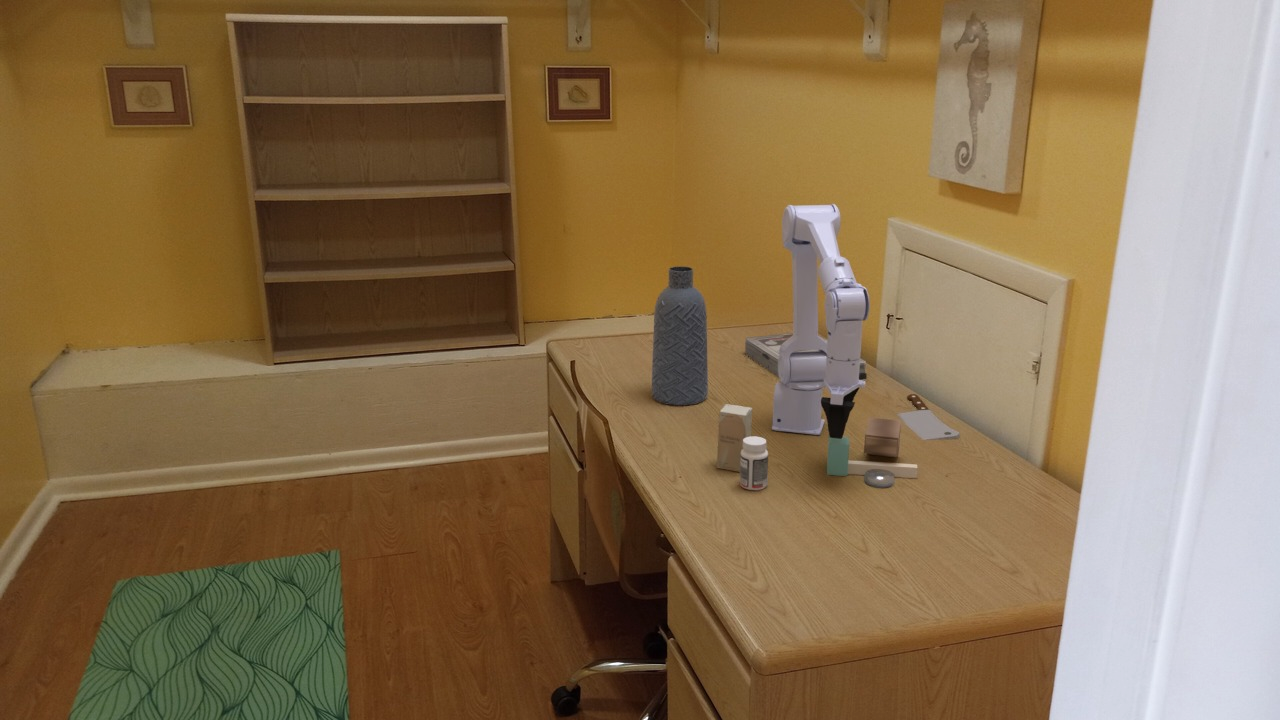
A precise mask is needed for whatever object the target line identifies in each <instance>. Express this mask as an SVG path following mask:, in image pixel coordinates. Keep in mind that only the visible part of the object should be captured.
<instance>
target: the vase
mask: <svg viewBox="0 0 1280 720" xmlns="http://www.w3.org/2000/svg"><path fill="white" fill-rule="evenodd" d="M653 313H654V314H653V337H652V338H653V339H652V340H653V341H652V363H651V367H652V368H651V388H650V389H651V390H650V391H651V396H652V398H653V400H655V401H656V402H659V403H661V404H665V405H672V406H688V405H689V406H690V405H695V404H699V403H702V402H705V400H706V399H707V397H708V394H709V392H708V391H709V382H708V381H709V379H708V378H709V377H708V365H709V364H708V326H707V325H708V324H707V323H708V321H707V319H708V318H707V317H708V315H707V306H706V301H705V298H704V296H703V295H702V293H701V292H700V290H698V288H697V287H695V286H694V268H692V267H690V266H672V267H669V268H668V285H667V286H666V287H665V288H664V289H663V290H661V291H660V293H659V295H658V296H657V298H656V301H655V306H654V312H653Z"/></svg>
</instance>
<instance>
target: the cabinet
mask: <svg viewBox="0 0 1280 720" xmlns="http://www.w3.org/2000/svg"><path fill="white" fill-rule="evenodd" d="M867 422H868V423H867V425H866V431H865V434H864V448H863V454H866V455H869V456H870V455H871V456H878V457H879V456H881V457H886V458H887V457H889V458H896V459H897V458H899V456H900V455H899V454H900V453H899V452H900V444H901V443H900V442H901V429H902V420H899V419H898V420H896V419H887V418H886V419H885V418H877V417H869V418H868V421H867Z"/></svg>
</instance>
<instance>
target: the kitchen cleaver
mask: <svg viewBox="0 0 1280 720" xmlns="http://www.w3.org/2000/svg"><path fill="white" fill-rule="evenodd" d="M906 399H908V400H909V401H908V400H907V401H908V402H910V401H912V402H911V403H912V406H913V405H914V406H915V407H916V410H912V411H906V412H901V413H896V415H897V416H898V418H900V420H901V422H903V423H904V424H905V425H906V427H908V428H909V429H910V430H911V431H913V432H914V433H915V434H916V435H917V436H918V437H919V438H920V439H921V440H923V441H931V440H934V441H935V439H939V440H957V439H959V438H960V436H961V435H960V434H961V433H960V432H959V431H957V430H955V429H953V428H951V427H950V426H948V425H947V424H945V423H944V422H942V421H941V420H940V419H939V418H937V416H936V415H935V414H934V413H933V411H931V410H930V409H929V407H928V406H927V405H926V403H924V401H923V400H922V399H921V397H920V396H919V395H918V394H915V393H911V394H908V395H907V396H906ZM914 406H913V407H914ZM915 407H914V408H915ZM947 434H948V435H947ZM954 438H955V439H954ZM956 438H957V439H956Z"/></svg>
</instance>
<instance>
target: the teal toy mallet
mask: <svg viewBox="0 0 1280 720" xmlns="http://www.w3.org/2000/svg"><path fill="white" fill-rule="evenodd" d="M827 444H828V445H827V457H826V459H827V461H826V474H827V476H841V477H848V475H857V476H858V475H859V476H865V472H866V471H868V470H871V469H883V470H887V471H890V472H892V473H893V474H894V475H895V478H905V479H906V478H907V479H917V478H918V470H919V469H918V464H917V463H916V464H914V463H913V464H912V463H899V462H898V463H896V462H886V461H885V462H883V461H881V462H880V461H868V460H867V461H866V460H852V459H851V460H850V459H849V455H850V437H849V436H843V437H842V439H837V438H830V436H829V435H828V443H827Z"/></svg>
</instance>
